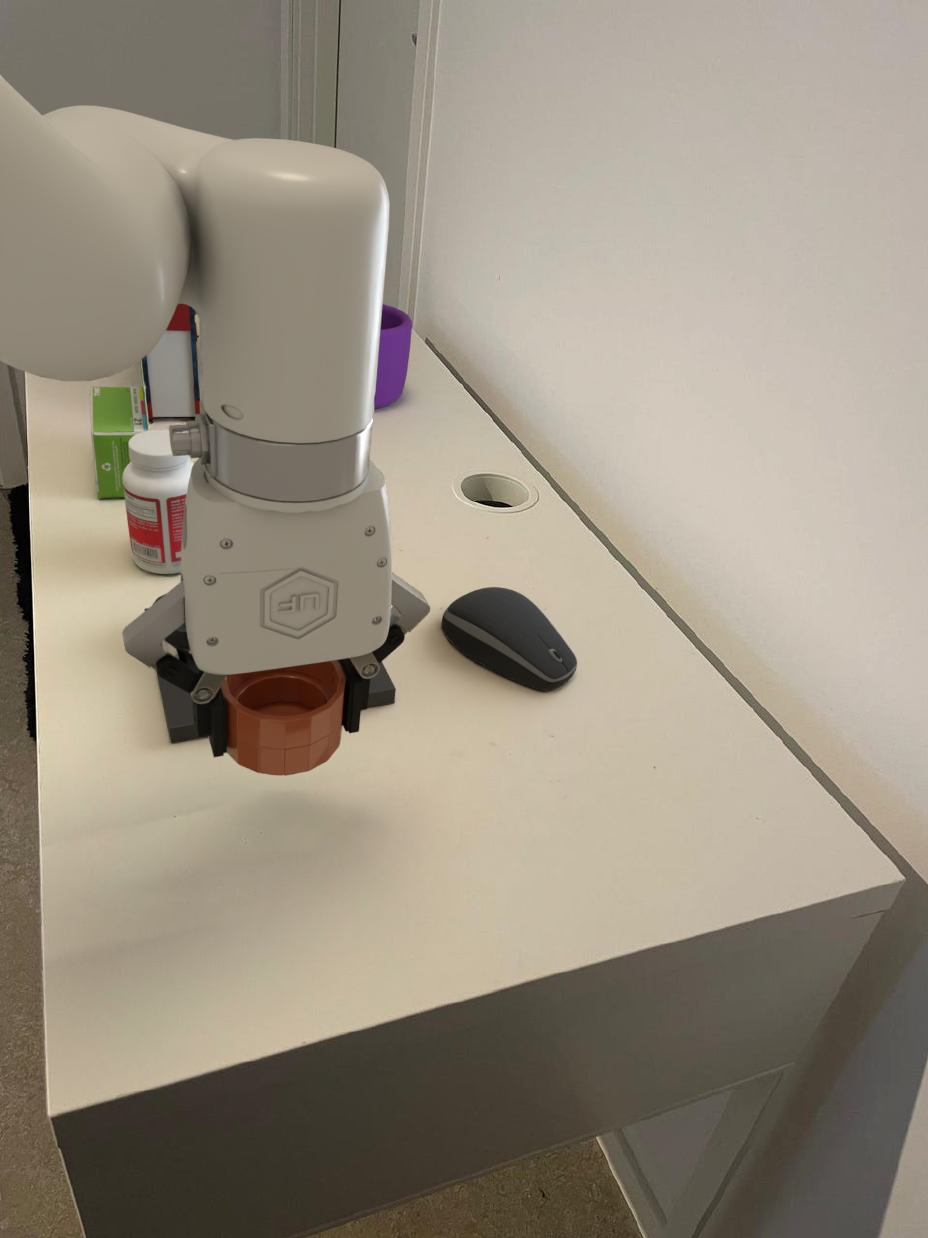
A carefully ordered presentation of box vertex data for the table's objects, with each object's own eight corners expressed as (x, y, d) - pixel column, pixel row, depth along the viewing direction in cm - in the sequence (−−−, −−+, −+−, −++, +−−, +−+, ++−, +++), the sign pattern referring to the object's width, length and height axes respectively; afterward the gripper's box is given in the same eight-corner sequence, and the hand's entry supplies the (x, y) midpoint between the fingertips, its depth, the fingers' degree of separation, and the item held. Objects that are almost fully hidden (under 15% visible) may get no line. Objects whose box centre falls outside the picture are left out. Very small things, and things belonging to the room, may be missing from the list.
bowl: (233, 792, 49) (232, 730, 46) (211, 709, 53) (209, 648, 51) (355, 769, 51) (360, 708, 48) (323, 691, 56) (327, 633, 53)
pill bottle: (206, 538, 82) (199, 425, 75) (206, 576, 77) (199, 459, 71) (133, 539, 80) (120, 424, 74) (129, 578, 76) (115, 458, 69)
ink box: (97, 451, 93) (78, 315, 84) (151, 449, 94) (138, 315, 86) (97, 501, 85) (77, 356, 77) (157, 498, 86) (143, 356, 78)
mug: (419, 411, 110) (427, 330, 104) (329, 417, 105) (332, 333, 100) (372, 358, 122) (376, 283, 116) (290, 362, 118) (290, 284, 112)
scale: (170, 743, 61) (167, 710, 59) (145, 622, 71) (142, 591, 69) (394, 703, 67) (397, 672, 65) (342, 596, 77) (343, 567, 75)
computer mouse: (540, 705, 69) (549, 664, 66) (422, 630, 74) (427, 591, 72) (591, 666, 73) (601, 627, 71) (476, 599, 79) (482, 560, 77)
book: (144, 340, 118) (123, 128, 103) (199, 341, 120) (186, 132, 105) (142, 423, 99) (116, 176, 84) (208, 423, 101) (193, 181, 86)
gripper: (92, 498, 35) (129, 806, 46) (492, 472, 42) (445, 746, 52) (79, 417, 41) (115, 709, 51) (435, 405, 47) (403, 666, 58)
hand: (282, 726), depth 52 cm, fingers closed on bowl, 6 cm apart
